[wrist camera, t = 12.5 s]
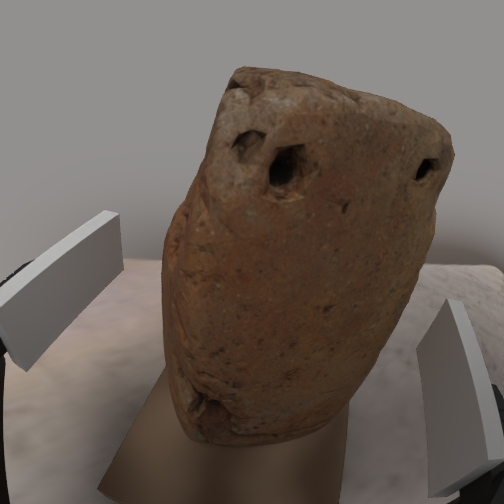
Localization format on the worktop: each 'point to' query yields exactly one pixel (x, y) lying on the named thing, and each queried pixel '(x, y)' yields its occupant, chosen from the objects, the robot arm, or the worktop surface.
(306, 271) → the block
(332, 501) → the slab
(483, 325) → the worktop surface
